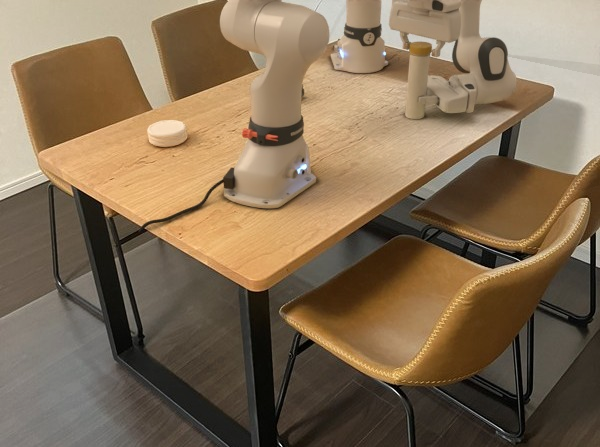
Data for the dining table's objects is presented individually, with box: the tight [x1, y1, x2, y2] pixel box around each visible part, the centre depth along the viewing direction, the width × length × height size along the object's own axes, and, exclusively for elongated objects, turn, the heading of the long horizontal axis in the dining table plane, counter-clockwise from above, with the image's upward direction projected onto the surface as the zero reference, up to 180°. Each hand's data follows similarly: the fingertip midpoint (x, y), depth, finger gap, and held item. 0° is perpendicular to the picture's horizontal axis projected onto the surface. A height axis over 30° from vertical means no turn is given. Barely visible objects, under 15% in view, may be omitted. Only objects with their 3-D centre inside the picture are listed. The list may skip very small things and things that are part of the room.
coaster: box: [146, 119, 188, 148], centre depth 160 cm, size 10×10×4 cm
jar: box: [404, 52, 431, 120], centre depth 168 cm, size 5×5×19 cm
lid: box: [408, 41, 433, 55], centre depth 163 cm, size 6×6×2 cm
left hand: (420, 52), depth 163 cm, fingers open, 8 cm apart
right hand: (413, 96), depth 169 cm, fingers closed on jar, 5 cm apart
